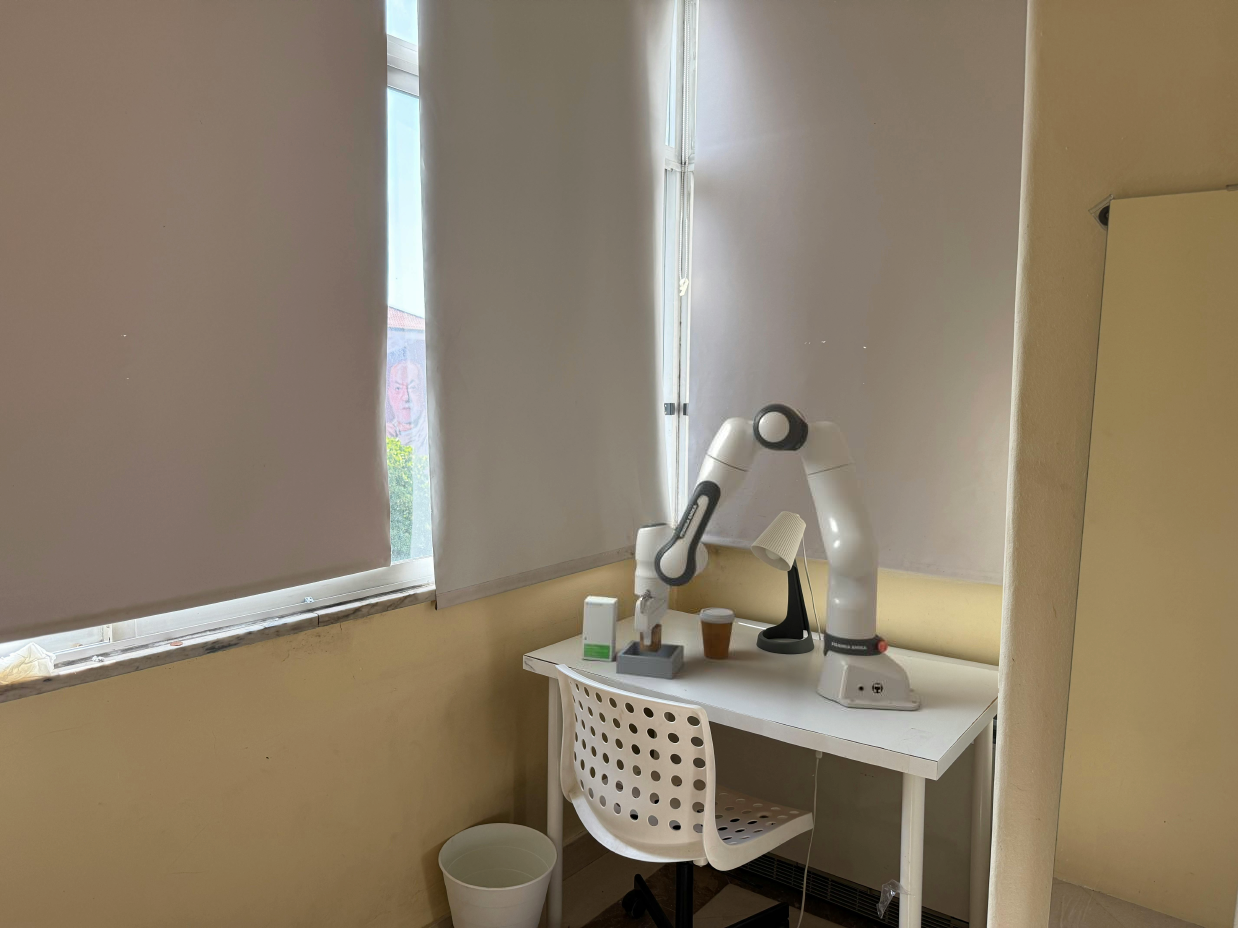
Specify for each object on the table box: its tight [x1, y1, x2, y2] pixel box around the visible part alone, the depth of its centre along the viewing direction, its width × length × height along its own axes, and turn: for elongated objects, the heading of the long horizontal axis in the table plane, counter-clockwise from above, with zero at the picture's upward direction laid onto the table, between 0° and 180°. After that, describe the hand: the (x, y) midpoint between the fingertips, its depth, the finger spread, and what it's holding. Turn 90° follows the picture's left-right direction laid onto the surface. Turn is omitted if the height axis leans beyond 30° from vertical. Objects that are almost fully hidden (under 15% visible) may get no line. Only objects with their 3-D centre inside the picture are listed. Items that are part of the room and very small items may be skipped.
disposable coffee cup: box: [698, 607, 736, 660], centre depth 203 cm, size 10×10×12 cm
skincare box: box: [581, 595, 619, 663], centre depth 200 cm, size 8×7×16 cm
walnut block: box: [639, 624, 663, 653], centre depth 192 cm, size 4×4×6 cm
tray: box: [615, 639, 685, 680], centre depth 192 cm, size 14×14×4 cm
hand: (650, 640), depth 192 cm, fingers closed on walnut block, 4 cm apart
